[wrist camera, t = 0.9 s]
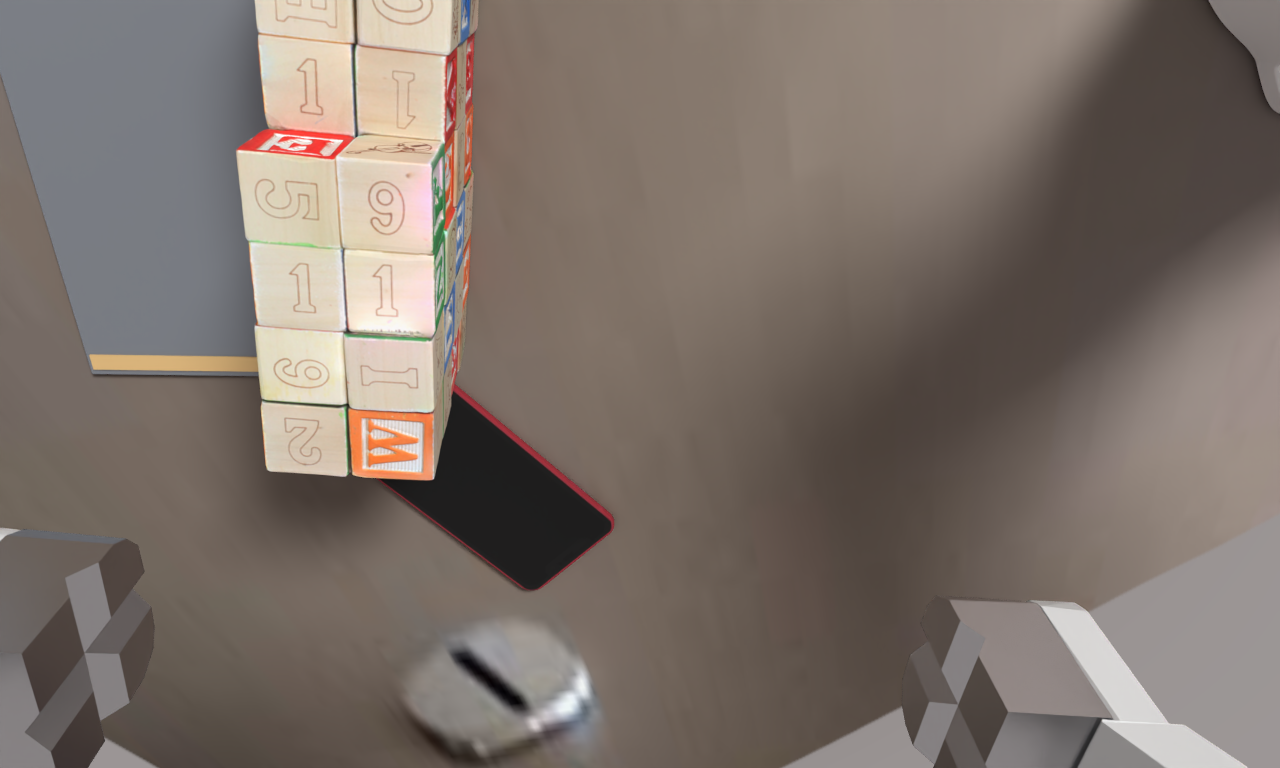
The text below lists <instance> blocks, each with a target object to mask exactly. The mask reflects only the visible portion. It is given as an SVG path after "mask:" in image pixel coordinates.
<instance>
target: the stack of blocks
mask: <svg viewBox="0 0 1280 768" xmlns="http://www.w3.org/2000/svg"><path fill="white" fill-rule="evenodd" d="M478 6H479V0H255V8H256V23H257V29H258V32H259V34H258V51H259V64H260V75H261V83H262V92H263V102H264V112H265V117H266V121H267V124H268V127H269V129H266V130H263V131H261V132H259V133H258V134H257V135H256V136H255V137H253V138H251V139H250V140H248V141H247V142H246V143H244V144H242V145H241V146H240V147H239V148H238V149H237V150H236V157H237V166H238V174H239V183H240V191H241V200H242V210H243V220H244V229H245V237H246V239H247V240H248V242H249V254H250V266H251V276H252V284H253V291H254V304H255V313H256V319H257V322H256V324H255V328H254V330H255V342H256V352H257V362H258V372H259V382H260V393H261V397H262V399H263V400H262V403H261V416H262V429H263V441H264V453H265V464H266V468H267V470H269V471H271V472H288V473H303V474H318V475H330V476H341V477H346V476H347V475H348V474H349V473H352V475H354V476H359V477H365V478H386V479H406V480H433V479H434V477H435V473H436V468H437V463H438V458H439V453H440V448H441V443H442V439H443V437H444V433H445V429H446V426H447V421H448V417H449V413H450V408H451V396H452V393H453V389H454V383H455V379H456V375H457V372H458V371H459V370H460V366H461V361H462V356H463V350H464V345H465V325H466V302H467V294H468V290H469V270H470V243H471V223H472V201H473V171H472V170H471V159H472V126H473V104H472V89H473V57H474V32H475V31H476V29H477V27H478Z"/></svg>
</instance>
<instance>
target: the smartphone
mask: <svg viewBox="0 0 1280 768" xmlns="http://www.w3.org/2000/svg"><path fill="white" fill-rule="evenodd" d="M376 479H378V480H379V481H380V482H382V483H383V484H384V485H386V486H387V487H388V488H390V489H391V490H392V491H394V492H395V493H396V494H398V495H399V496H400V497H402V498H403V499H404V500H406V501H407V502H408V503H410V504H411V505H412V506H414V507H415V508H416V509H418V510H419V511H420V512H422V513H423V514H424V515H426V516H427V517H428V518H430V519H431V520H432V521H434V522H435V523H436V524H438V525H439V526H440V527H442V528H443V529H444V530H446V531H447V532H448V533H450V534H451V535H452V536H454V537H455V538H456V539H458V540H459V541H460V542H462V543H463V544H464V545H466V546H467V547H468V548H470V549H471V550H472V551H474V552H475V553H476V554H478V555H479V556H480V557H482V558H483V559H484V560H486V561H487V562H488V563H490V564H491V565H492V566H494V567H495V568H496V569H498V570H499V571H500V572H502V573H503V574H504V575H506V576H507V577H508V578H510V579H511V580H512V581H514V582H515V583H516V584H518V585H519V586H520V587H522V588H523V589H526V590H538V589H540V588H542V587H543V586H545V585H546V584H547V583H548V582H550V581H551V580H552V579H553V578H555V577H556V576H557V575H559V574H560V573H561V572H562V571H564V570H565V569H566V568H567V567H569V566H570V565H571V564H572V563H574V562H575V561H576V560H577V559H579V558H580V557H581V556H582V555H584V554H585V553H586V552H587V551H589V550H590V549H591V548H592V547H594V546H595V545H596V544H597V543H599V542H600V541H601V540H602V539H604V538H605V537H606V536H607V535H609V534H610V533H611V532H612V530H613V528H614V519H613V516H612V515H611V514H610V513H609V512H608V511H607V510H606V509H604V508H603V507H602V506H601V505H600V504H598V503H597V502H596V501H595V500H594V499H592V498H591V497H590V496H589V495H588V494H586V493H585V492H584V491H583V490H582V489H580V488H579V487H578V486H577V485H576V484H574V483H573V482H572V481H571V480H570V479H568V478H567V477H566V476H565V475H564V474H562V473H561V472H560V471H559V470H558V469H556V468H555V467H554V466H553V465H552V464H550V463H549V462H548V461H547V460H546V459H544V458H543V457H542V456H541V455H539V454H538V453H537V452H536V451H535V450H533V449H532V448H531V447H530V446H529V445H527V444H526V443H525V442H524V441H523V440H521V439H520V438H519V437H518V436H517V435H515V434H514V433H513V432H512V431H511V430H509V429H508V428H507V427H506V426H505V425H503V424H502V423H501V422H500V421H499V420H497V419H496V418H495V417H494V416H493V415H491V414H490V413H489V412H488V411H487V410H485V409H484V408H483V407H482V406H480V405H479V404H478V403H477V402H476V401H474V400H473V399H472V398H471V397H470V396H468V395H467V394H466V393H465V392H464V391H462V390H461V389H460V388H459V387H458V386H456V385H455V384H454V389H453V393H452V396H451V408H450V413H449V417H448V421H447V426H446V429H445V433H444V437H443V439H442V443H441V448H440V453H439V458H438V463H437V468H436V473H435V477H434V479H433V480H406V479H386V478H376Z"/></svg>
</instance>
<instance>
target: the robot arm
mask: <svg viewBox="0 0 1280 768" xmlns="http://www.w3.org/2000/svg"><path fill="white" fill-rule="evenodd" d="M1209 2H1210V4H1211V6H1212V8H1213V9H1214V11H1215V13H1216V14H1217V16H1218V17H1219V19H1220V20H1221V21H1222V23H1223V24H1224V25H1225V26H1226V27H1227V29H1228V30H1229V31H1230V32H1231V33H1232V34H1233V35H1234V36H1235V37H1236V38H1237V39H1238V40H1239V41H1240V42H1241V43H1243V44H1244V45H1245V46H1246V48H1247V49H1248V50H1249V51H1250V53H1251V54H1252V56H1253V57H1254V59H1255V60H1256V64H1257V69H1258V73H1259V77H1260V81H1261V85H1262V88H1263V91H1264V94H1265V97H1266V99H1267V102H1268V103H1269V105H1270V107H1271V108H1272V109H1273V110H1274V111H1276V112H1277V113H1280V0H1209ZM144 572H145V571H144V567H143V563H142V559H141V555H140V550H139V546H138V545H137V544H135V543H133V542H132V541H130V540H128V539H125V538H114V537H103V536H93V535H82V534H71V533H60V532H49V531H38V530H27V529H23V530H16V529H7V528H0V768H88V767H89V765H90V763H91V762H92V761H93V759H94V757H95V756H96V754H97V753H98V751H99V750H100V748H101V747H102V745H103V743H104V742H105V739H104V734H103V730H102V726H101V722H100V721H101V720H102V719H104V718H106V717H107V716H109V715H110V714H112V713H114V712H115V711H117V710H118V709H120V708H122V707H123V706H125V705H126V704H128V703H129V702H130V701H131V699H132V698H133V696H134V694H135V693H136V691H137V689H138V688H139V686H140V684H141V683H142V681H143V679H144V677H145V674H146V671H147V668H148V665H149V661H150V658H151V655H152V652H153V649H154V630H155V625H154V619H153V613H152V607H151V606H150V605H149V604H148V603H147V602H146V601H145V600H144V599H143V598H142V597H141V596H140V595H139V594H138V593H137V592H135V591H134V590H133V587H134V586H135V585H136V583H137V582H138V580H139V579H140V578H141V576H142V575H143V574H144ZM921 626H922V628H923V630H924V632H925V634H926V637H927V639H928V641H927V642H926V643H925V644H924V645H922V646H921V647H920V648H918V649H917V650H916V651H914V652H913V653H912V654H911V655H910V656H909V659H908V663H907V666H906V669H905V672H904V676H903V682H902V708H903V713H904V718H905V724H906V727H907V730H908V732H909V735H910V738H911V741H912V744H913V746H914V747H915V748H916V749H918V750H919V751H920V752H921V753H922V754H923V755H924V756H925V757H926V758H928V759H929V760H930V761H931V762H932V763H933V764H934V767H933V768H1248V767H1246V766H1245V765H1243V764H1242V763H1241V762H1239V761H1238V760H1236V759H1234V758H1233V757H1232V756H1230V755H1229V754H1227V753H1225V752H1224V751H1223V750H1221V749H1220V748H1218V747H1217V746H1215V745H1214V744H1212V743H1211V742H1209V741H1207V740H1206V739H1205V738H1203V737H1202V736H1200V735H1199V734H1197V733H1196V732H1194V731H1193V730H1191V729H1190V728H1188V727H1186V726H1185V725H1179V724H1169V723H1168V722H1167V720H1166V719H1165V718H1164V716H1163V715H1162V714H1161V712H1160V711H1159V709H1158V708H1157V706H1156V705H1155V704H1154V703H1153V701H1152V700H1151V698H1150V697H1149V695H1148V694H1147V693H1146V692H1145V690H1144V689H1143V687H1142V686H1141V684H1140V683H1139V682H1138V680H1137V679H1136V678H1135V676H1134V675H1133V673H1132V672H1131V671H1130V669H1129V668H1128V667H1127V665H1126V664H1125V662H1124V661H1123V660H1122V658H1121V657H1120V656H1119V654H1118V653H1117V652H1116V650H1115V649H1114V648H1113V646H1112V645H1111V643H1110V642H1109V640H1108V639H1107V638H1106V636H1105V635H1104V633H1103V632H1102V631H1101V629H1100V628H1099V627H1098V625H1097V624H1096V622H1095V621H1094V620H1093V618H1092V617H1091V616H1090V614H1089V613H1088V611H1086V610H1085V609H1084V608H1082V607H1081V606H1079V605H1078V604H1076V603H1074V602H1056V601H1035V600H1028V601H1026V602H1025V601H1016V600H1000V599H984V598H968V597H953V596H937V595H936V596H935V598H934V599H933V600H932V601H931V602H930V603H929V604H928V606H927V608H926V611H925V614H924V616H923V619H922V622H921Z"/></svg>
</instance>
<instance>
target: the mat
mask: <svg viewBox="0 0 1280 768" xmlns="http://www.w3.org/2000/svg"><path fill="white" fill-rule="evenodd" d="M258 34H259V32H258V29H257V23H256V8H255V0H0V73H1V77H2V80H3V83H4V87H5V90H6V93H7V96H8V100H9V103H10V106H11V109H12V113H13V116H14V119H15V123H16V126H17V129H18V132H19V136H20V139H21V142H22V145H23V149H24V152H25V155H26V159H27V162H28V165H29V168H30V172H31V175H32V178H33V182H34V185H35V188H36V191H37V195H38V198H39V201H40V204H41V208H42V211H43V214H44V218H45V221H46V224H47V227H48V231H49V234H50V237H51V241H52V244H53V247H54V250H55V254H56V257H57V260H58V263H59V267H60V270H61V273H62V277H63V280H64V283H65V286H66V290H67V293H68V296H69V299H70V303H71V306H72V309H73V313H74V316H75V319H76V322H77V326H78V329H79V332H80V336H81V339H82V342H83V345H84V349H85V352H86V355H87V358H88V362H89V365H90V368H91V372H92V374H137V375H213V376H259V372H258V362H257V352H256V342H255V330H254V328H255V324H256V322H257V319H256V313H255V304H254V291H253V284H252V276H251V266H250V254H249V242H248V240H247V239H246V237H245V229H244V220H243V210H242V200H241V191H240V183H239V174H238V166H237V157H236V150H237V149H238V148H239V147H240V146H241V145H242V144H244V143H246V142H247V141H248V140H250V139H251V138H253V137H255V136H256V135H257V134H258V133H259V132H261V131H263V130H266V129H269V127H268V124H267V121H266V117H265V112H264V102H263V92H262V83H261V75H260V64H259V51H258Z"/></svg>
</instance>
